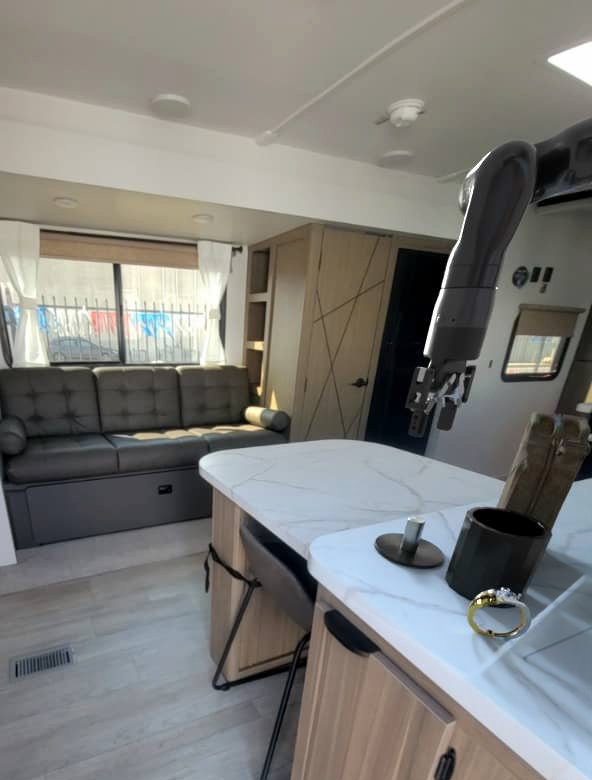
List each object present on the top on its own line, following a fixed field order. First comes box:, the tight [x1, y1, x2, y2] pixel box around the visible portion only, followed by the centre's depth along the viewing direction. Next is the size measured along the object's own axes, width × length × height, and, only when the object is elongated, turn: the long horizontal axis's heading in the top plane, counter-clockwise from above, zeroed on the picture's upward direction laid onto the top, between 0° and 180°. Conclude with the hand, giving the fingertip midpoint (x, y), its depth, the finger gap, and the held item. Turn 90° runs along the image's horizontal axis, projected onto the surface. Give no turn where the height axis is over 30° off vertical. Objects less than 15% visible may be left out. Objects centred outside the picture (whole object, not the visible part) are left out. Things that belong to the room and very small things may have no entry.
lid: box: [374, 515, 445, 570], centre depth 74 cm, size 12×12×7 cm
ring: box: [466, 587, 532, 642], centre depth 54 cm, size 7×3×8 cm, turn 62°
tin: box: [444, 506, 553, 610], centre depth 63 cm, size 11×11×12 cm
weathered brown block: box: [495, 411, 592, 531], centre depth 72 cm, size 19×8×25 cm, turn 143°
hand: (429, 432), depth 67 cm, fingers open, 8 cm apart
